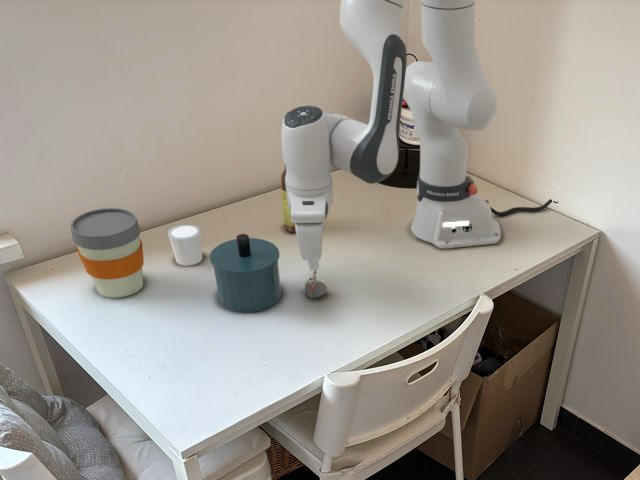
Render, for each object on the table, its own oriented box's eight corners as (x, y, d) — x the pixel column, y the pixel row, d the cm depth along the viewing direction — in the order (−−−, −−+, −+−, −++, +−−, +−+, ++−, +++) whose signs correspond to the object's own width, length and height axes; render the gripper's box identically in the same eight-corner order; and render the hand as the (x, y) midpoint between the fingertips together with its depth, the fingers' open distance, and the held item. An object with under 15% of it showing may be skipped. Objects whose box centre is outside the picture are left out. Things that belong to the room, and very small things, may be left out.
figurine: (331, 293, 152) (330, 269, 148) (320, 303, 148) (318, 279, 145) (309, 287, 153) (308, 263, 149) (298, 296, 150) (296, 272, 146)
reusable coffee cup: (165, 283, 151) (151, 219, 142) (114, 309, 142) (96, 243, 133) (126, 264, 156) (110, 201, 146) (74, 288, 147) (54, 224, 138)
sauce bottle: (305, 235, 171) (300, 157, 159) (280, 232, 171) (273, 153, 159) (313, 223, 176) (309, 146, 164) (289, 220, 176) (283, 143, 164)
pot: (283, 279, 155) (279, 241, 149) (278, 312, 145) (274, 272, 139) (223, 279, 153) (217, 241, 147) (214, 312, 143) (208, 272, 138)
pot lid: (282, 242, 150) (280, 220, 147) (276, 276, 139) (274, 254, 136) (215, 242, 148) (212, 220, 145) (205, 276, 137) (201, 254, 134)
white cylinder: (211, 257, 160) (207, 230, 156) (188, 270, 155) (183, 242, 151) (189, 248, 163) (184, 221, 158) (166, 260, 158) (160, 232, 154)
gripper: (296, 171, 144) (302, 231, 153) (289, 219, 129) (296, 283, 137) (327, 171, 145) (331, 230, 154) (325, 219, 129) (329, 282, 138)
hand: (315, 256), depth 145 cm, fingers open, 8 cm apart
